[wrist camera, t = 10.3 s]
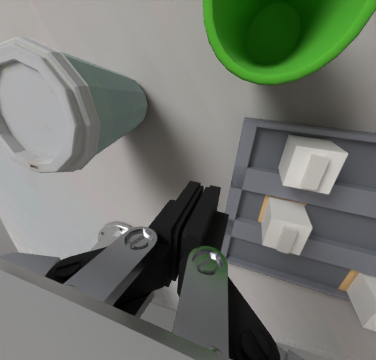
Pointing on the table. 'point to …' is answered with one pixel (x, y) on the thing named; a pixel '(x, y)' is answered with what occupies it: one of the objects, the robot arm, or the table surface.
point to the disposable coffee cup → (61, 106)
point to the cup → (282, 35)
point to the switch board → (314, 205)
